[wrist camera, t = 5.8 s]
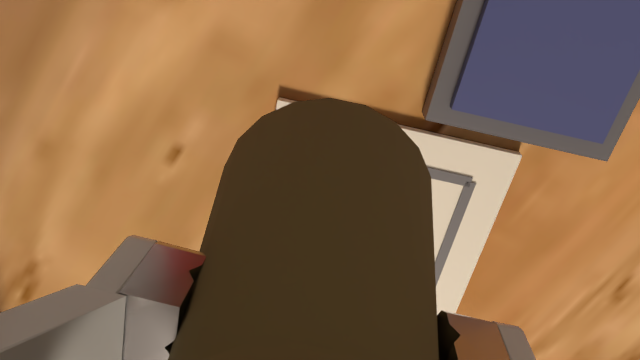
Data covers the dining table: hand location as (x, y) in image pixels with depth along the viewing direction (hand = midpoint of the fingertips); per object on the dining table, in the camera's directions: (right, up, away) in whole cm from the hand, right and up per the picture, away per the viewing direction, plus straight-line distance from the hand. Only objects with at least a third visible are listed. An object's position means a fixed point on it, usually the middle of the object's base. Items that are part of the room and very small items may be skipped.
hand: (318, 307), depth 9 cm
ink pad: (+12, +11, +15) cm, 22 cm away
